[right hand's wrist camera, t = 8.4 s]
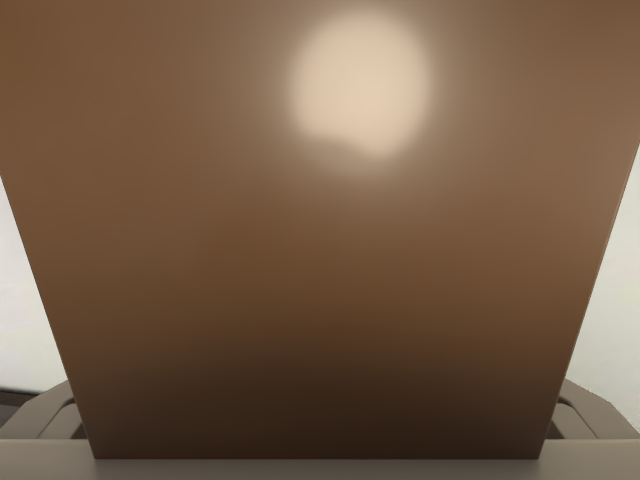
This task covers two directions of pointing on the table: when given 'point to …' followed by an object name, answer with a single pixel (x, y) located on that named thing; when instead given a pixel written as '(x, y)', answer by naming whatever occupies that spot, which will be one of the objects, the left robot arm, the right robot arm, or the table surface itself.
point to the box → (317, 215)
